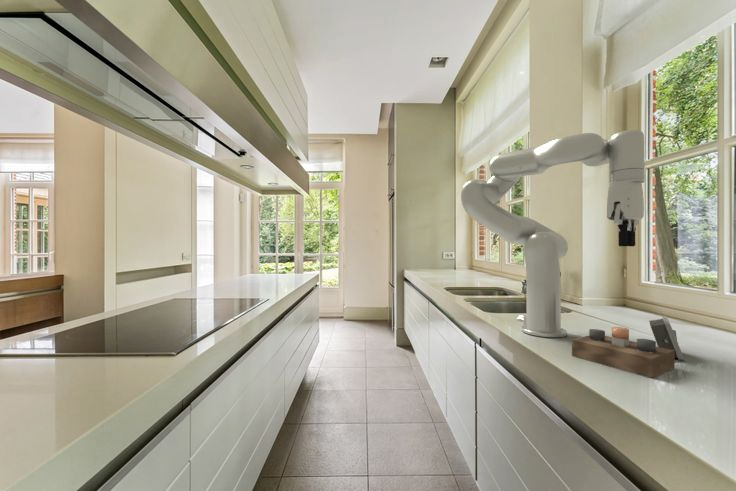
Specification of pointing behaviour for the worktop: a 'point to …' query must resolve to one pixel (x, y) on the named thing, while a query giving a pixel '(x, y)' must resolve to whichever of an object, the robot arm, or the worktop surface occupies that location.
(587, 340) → the wooden socket board
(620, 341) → the plug middle
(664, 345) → the electrical switch
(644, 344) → the plug right
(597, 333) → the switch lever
